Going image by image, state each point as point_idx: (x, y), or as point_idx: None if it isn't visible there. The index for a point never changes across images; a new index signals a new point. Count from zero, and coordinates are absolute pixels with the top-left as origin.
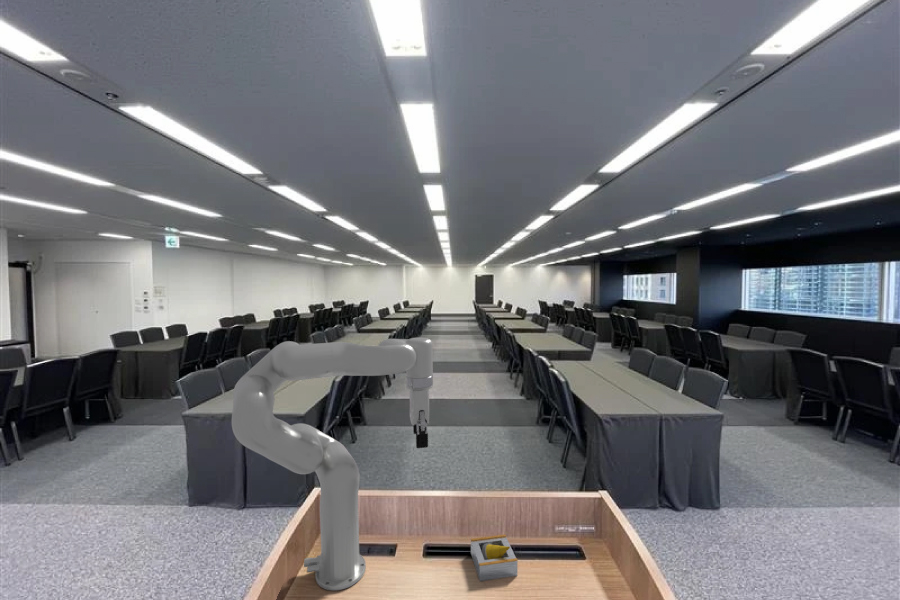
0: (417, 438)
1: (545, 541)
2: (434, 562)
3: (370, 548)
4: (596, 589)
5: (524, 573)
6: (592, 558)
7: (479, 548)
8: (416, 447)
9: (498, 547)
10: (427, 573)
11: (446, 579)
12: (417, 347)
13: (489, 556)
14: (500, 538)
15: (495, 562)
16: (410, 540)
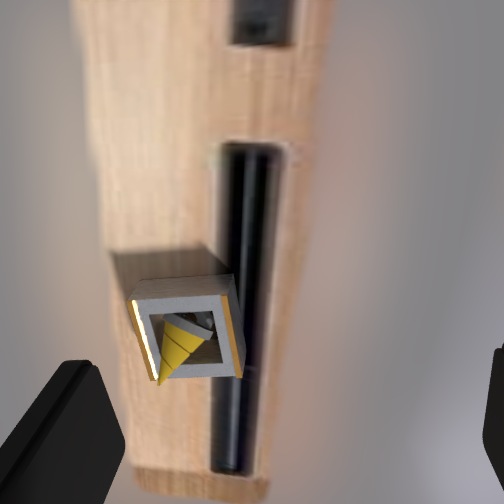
0: (5, 463)
1: (267, 429)
2: (200, 176)
3: None
4: (136, 458)
5: None
6: (212, 480)
7: (191, 310)
8: (65, 361)
9: (167, 359)
10: (158, 156)
11: (140, 205)
12: None
13: (165, 326)
14: (230, 363)
15: (138, 336)
16: (303, 97)
